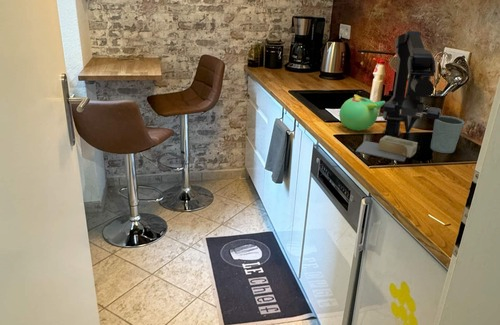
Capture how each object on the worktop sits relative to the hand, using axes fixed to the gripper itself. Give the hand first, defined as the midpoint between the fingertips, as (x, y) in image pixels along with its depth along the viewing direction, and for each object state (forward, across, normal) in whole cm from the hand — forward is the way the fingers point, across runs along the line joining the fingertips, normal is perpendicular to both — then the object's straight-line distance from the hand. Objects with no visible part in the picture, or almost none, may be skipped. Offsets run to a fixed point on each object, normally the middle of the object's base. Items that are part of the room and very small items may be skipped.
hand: (407, 133), depth 147 cm
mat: (+9, -7, 0) cm, 11 cm away
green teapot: (+9, -23, +21) cm, 32 cm away
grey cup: (+9, +12, +15) cm, 21 cm away
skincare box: (+6, +4, 0) cm, 7 cm away
